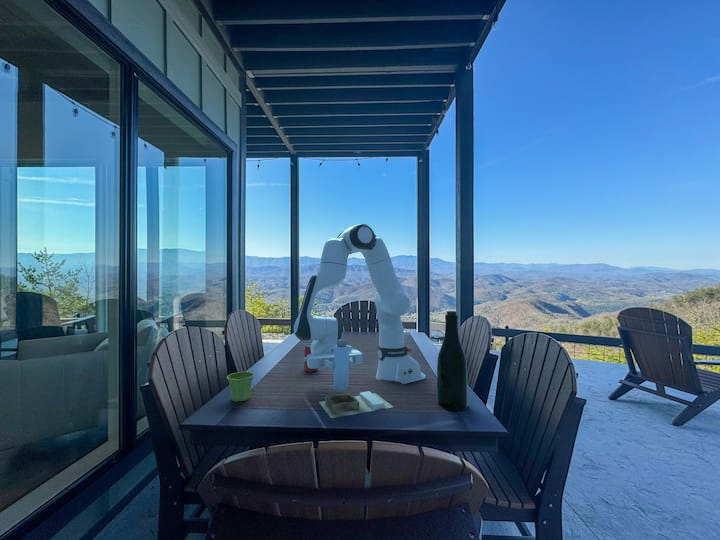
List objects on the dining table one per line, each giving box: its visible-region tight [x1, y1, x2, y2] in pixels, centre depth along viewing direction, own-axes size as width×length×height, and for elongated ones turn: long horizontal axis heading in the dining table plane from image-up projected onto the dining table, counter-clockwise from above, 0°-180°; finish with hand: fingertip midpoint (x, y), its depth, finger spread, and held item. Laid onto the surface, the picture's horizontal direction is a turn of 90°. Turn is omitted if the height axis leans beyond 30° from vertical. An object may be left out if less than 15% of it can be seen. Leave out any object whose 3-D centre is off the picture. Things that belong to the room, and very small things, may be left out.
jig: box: [318, 392, 394, 419], centre depth 109 cm, size 22×14×4 cm, turn 113°
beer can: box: [303, 343, 319, 373], centre depth 155 cm, size 7×7×12 cm
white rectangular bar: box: [359, 390, 384, 409], centre depth 112 cm, size 4×12×2 cm, turn 23°
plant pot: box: [226, 371, 255, 403], centre depth 118 cm, size 9×9×9 cm
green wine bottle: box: [436, 310, 469, 412], centre depth 112 cm, size 10×10×33 cm
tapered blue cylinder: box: [333, 338, 350, 392], centre depth 108 cm, size 5×5×16 cm
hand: (342, 364), depth 107 cm, fingers closed on tapered blue cylinder, 5 cm apart
